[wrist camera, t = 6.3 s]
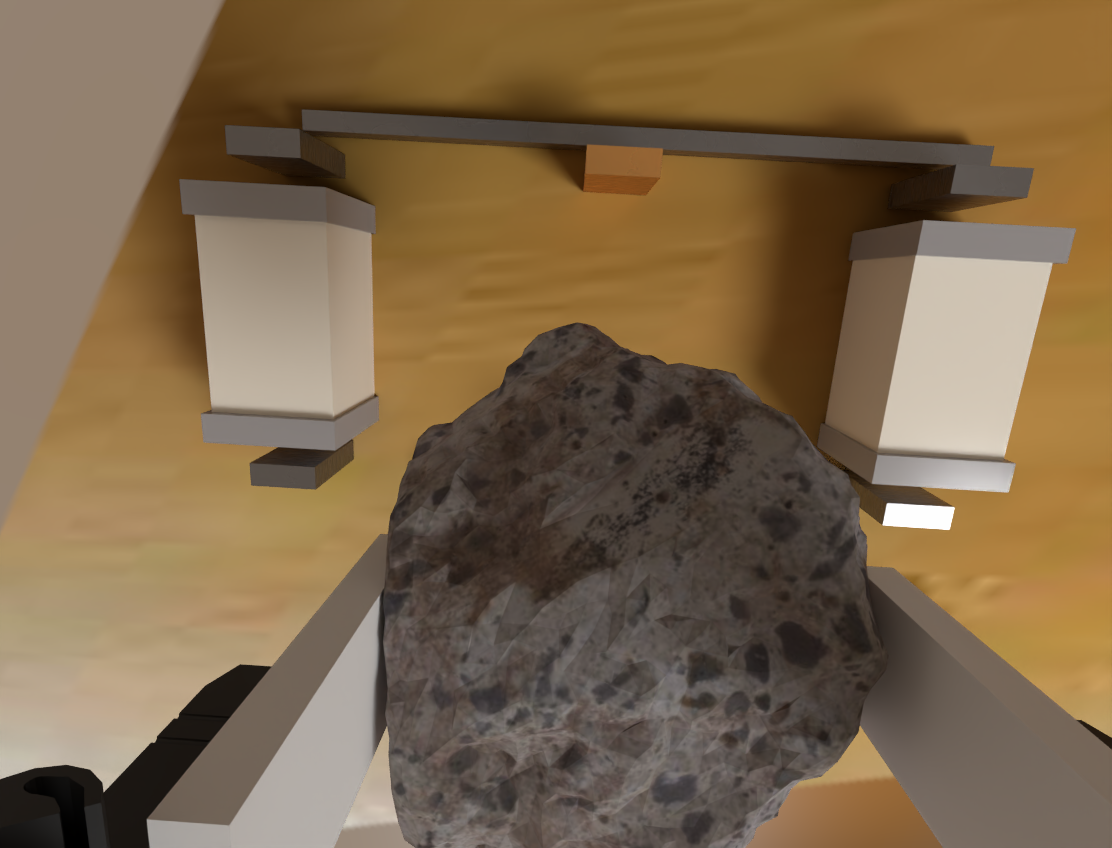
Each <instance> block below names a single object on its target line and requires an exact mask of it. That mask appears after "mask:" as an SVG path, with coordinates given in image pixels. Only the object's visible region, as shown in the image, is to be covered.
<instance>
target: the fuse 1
mask: <svg viewBox="0 0 1112 848" xmlns="http://www.w3.org/2000/svg"><path fill="white" fill-rule="evenodd" d="M179 182H180V193H181V204H182V214H186V215H192V216H195V225H196V236H197V248H198V259H199V270H200V282H201V293H202V305H203V316H204V327H205V339H206V350H207V361H208V373H209V384H210V396H211V407H212V410H210V411H207V412H204V413H201V420H202V430H203V441H204V442H206V443H222V444H238V445H254V446H270V447H286V448H302V449H318V450H334V451H335V450H337V449H338V448H340V447H341V446H343V445H344V444H345V443H347V442H348V441H350V440H351V439H353V438H354V437H355V436H357V435H358V434H360V433H361V432H363V431H364V430H365V429H367V428H368V427H370V426H371V425H373V424H374V423H375V422H377V421H378V420H379V401H378V396H374V351H373V299H372V248H371V234H376V231H375V206H373V205H370V204H368V203H365V202H363V201H360V200H357V199H355V198H352V197H350V196H347V195H345V194H342V193H339V192H337V191H334V190H332V189H329V188H327V187H313V186H295V185H277V184H259V183H241V182H222V181H204V180H186V179H179Z"/></svg>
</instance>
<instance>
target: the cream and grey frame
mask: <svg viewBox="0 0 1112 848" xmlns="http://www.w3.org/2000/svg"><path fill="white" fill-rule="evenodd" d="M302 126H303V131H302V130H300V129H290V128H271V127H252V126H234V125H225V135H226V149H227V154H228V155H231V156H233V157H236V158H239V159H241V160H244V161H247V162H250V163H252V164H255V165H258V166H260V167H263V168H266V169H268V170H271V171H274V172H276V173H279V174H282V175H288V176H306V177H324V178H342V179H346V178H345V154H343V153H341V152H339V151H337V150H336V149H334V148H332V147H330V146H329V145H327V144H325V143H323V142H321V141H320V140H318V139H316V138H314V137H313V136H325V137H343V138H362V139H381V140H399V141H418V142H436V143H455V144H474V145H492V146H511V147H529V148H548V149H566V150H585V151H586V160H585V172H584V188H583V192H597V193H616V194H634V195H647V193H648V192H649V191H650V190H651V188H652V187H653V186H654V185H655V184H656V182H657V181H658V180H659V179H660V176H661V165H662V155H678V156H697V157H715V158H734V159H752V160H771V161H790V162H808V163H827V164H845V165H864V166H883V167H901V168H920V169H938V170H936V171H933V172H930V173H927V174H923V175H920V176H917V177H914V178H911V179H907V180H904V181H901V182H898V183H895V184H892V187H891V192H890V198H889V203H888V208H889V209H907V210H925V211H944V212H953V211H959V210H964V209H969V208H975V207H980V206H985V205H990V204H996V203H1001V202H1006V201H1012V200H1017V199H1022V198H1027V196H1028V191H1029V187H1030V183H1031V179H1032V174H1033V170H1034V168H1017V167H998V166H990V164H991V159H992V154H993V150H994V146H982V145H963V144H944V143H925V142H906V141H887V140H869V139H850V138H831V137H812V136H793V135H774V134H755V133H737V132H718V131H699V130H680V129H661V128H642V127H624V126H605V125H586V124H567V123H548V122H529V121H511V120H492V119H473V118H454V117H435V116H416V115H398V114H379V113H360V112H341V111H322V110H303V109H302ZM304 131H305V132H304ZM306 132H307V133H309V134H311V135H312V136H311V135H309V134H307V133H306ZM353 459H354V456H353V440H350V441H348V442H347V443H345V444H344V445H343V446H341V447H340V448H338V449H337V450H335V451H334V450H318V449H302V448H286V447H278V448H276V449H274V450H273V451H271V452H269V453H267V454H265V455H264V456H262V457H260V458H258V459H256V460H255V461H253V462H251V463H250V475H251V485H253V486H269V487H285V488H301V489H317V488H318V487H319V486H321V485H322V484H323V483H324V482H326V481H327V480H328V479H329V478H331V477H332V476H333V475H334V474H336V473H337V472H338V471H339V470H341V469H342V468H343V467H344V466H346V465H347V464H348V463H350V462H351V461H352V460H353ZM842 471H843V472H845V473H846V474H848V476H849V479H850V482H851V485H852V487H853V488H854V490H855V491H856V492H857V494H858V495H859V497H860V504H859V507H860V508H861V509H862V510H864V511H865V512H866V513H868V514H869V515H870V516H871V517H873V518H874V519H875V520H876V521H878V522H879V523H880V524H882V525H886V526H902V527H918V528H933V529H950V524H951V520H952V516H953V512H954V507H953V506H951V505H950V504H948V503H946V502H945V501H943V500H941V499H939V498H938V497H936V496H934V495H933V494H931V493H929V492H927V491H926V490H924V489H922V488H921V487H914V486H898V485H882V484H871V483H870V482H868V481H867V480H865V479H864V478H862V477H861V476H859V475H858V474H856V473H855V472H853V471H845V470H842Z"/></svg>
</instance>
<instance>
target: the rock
mask: <svg viewBox="0 0 1112 848" xmlns="http://www.w3.org/2000/svg"><path fill="white" fill-rule="evenodd" d="M859 504H860V497H859V495H858V494H857V492H856V491H855V490H854V488H853V487H852V485H851V482H850V479H849V476H848V474H846V473H845V472H843V471H842V470H840V469H839V468H837V467H836V466H835V465H833V464H832V463H830V462H829V461H827V460H826V459H825V457H824V456H823V455H822V454H821V453H820V452H819V451H818V450H817V448H816V447H815V446H814V445H813V444H812V443H811V442H810V440H809V439H808V437H807V435H806V434H805V432H804V431H803V430H802V428H801V427H800V426H799V424H798V423H797V422H796V421H795V419H794V418H793V417H792V416H790V415H787V414H785V413H782V412H780V411H778V410H776V409H774V408H772V407H770V406H768V405H766V404H764V403H762V401H761V400H760V398H759V397H758V396H757V395H756V394H755V393H754V392H753V391H752V390H751V389H749V388H748V387H747V386H746V385H745V384H744V383H743V382H742V381H740V380H739V378H738V377H737V376H736V374H733V373H729V372H726V371H722V370H718V369H706V368H702V367H698V366H693V365H688V364H683V363H678V364H669V365H667V364H666V363H665V362H663V361H661V360H659V359H657V358H656V357H654V356H652V355H640V354H638V353H635V352H632V351H630V350H629V349H625V348H623V347H620V346H619V345H618V344H617V343H615V342H614V341H613V340H612V339H611V338H610V337H608V336H607V335H605V334H604V333H602V332H601V331H600V330H598V329H597V328H596V327H594V326H591V325H588V324H583V323H573V324H569V325H566V326H562V327H558V328H556V329H553V330H550V331H548V332H545V333H542V334H540V335H538V336H537V337H536V338H535V339H534V340H533V341H532V342H531V343H530V344H529V345H528V346H527V347H526V348H525V350H524V352H523V355H522V356H521V357H520V358H519V359H517V360H516V361H515V362H513V363H512V364H511V365H509V366H508V367H507V369H506V373H505V376H504V380H503V383H502V385H501V386H500V387H499V388H498V389H496V390H494V391H493V392H491V393H490V394H488V395H487V396H485V397H484V398H482V399H481V400H480V401H478V402H477V403H476V404H474V405H473V406H471V407H470V408H469V409H467V410H466V411H465V412H464V413H463V414H461V415H460V416H459V417H458V418H457V419H455V420H454V421H453V422H452V423H445V424H438V425H433V426H431V427H430V428H428V429H427V430H426V431H425V432H424V433H423V434H422V435H421V436H420V437H419V438H418V441H417V444H416V448H415V451H414V455H413V458H412V460H411V461H409V463H408V466H407V469H406V472H405V474H404V476H403V478H402V481H401V483H400V487H399V493H398V499H397V503H396V505H395V507H394V509H393V511H392V513H391V515H390V522H389V531H388V541H387V553H386V572H385V585H384V597H383V607H384V614H385V621H384V637H383V646H384V657H385V666H386V676H387V686H388V692H387V701H386V710H385V717H386V722H387V727H388V733H389V766H390V777H391V789H392V795H393V800H394V805H395V809H396V814H397V818H398V822H399V825H400V828H401V831H402V833H403V837H404V839H405V840H406V841H407V842H408V843H410V844H411V845H412V846H414V847H415V848H745V847H746V846H747V845H748V844H749V842H750V841H751V840H752V839H753V837H754V834H755V831H756V828H757V827H758V826H760V825H762V824H763V823H765V822H767V821H769V820H771V819H772V818H775V817H776V816H778V811H779V808H780V807H781V805H782V804H783V802H784V801H785V799H786V798H787V796H788V794H789V792H790V790H791V788H793V787H794V786H795V785H796V784H797V783H798V782H799V781H802V780H807V779H812V778H816V777H821V776H822V775H823V774H824V773H825V772H826V771H828V770H829V769H830V768H831V767H832V766H833V765H834V764H835V763H836V762H838V760H839V759H840V758H841V756H842V755H843V753H844V752H845V750H846V749H847V748H848V746H849V745H850V743H851V742H852V741H853V739H854V738H855V736H856V735H857V734H858V731H859V726H860V721H861V715H862V710H863V705H864V701H865V699H866V697H867V695H868V694H869V692H870V690H871V688H872V687H873V686H874V685H875V684H876V682H877V681H878V680H879V679H880V678H881V676H882V675H883V674H884V672H885V671H886V670H887V662H888V653H887V650H886V648H885V645H884V642H883V639H882V636H881V633H880V630H879V627H878V625H877V622H876V619H875V616H874V613H873V610H872V605H871V595H870V587H869V580H868V573H867V566H866V560H867V544H866V542H867V536H866V535H865V534H864V532H863V531H862V530H861V527H860V524H859V520H860V517H859V515H858V514H859Z"/></svg>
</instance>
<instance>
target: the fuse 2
mask: <svg viewBox="0 0 1112 848" xmlns="http://www.w3.org/2000/svg"><path fill="white" fill-rule="evenodd" d="M1075 230H1076V229H1075V228H1057V227H1039V226H1021V225H1002V224H984V223H966V222H948V221H930V220H922V221H916V222H911V223H905V224H899V225H894V226H888V227H883V228H877V229H872V230H866V231H861V232H855V233H853V236H852V242H851V248H850V254H849V260H848V261H853V263H852V269H851V275H850V280H849V286H848V292H847V298H846V304H845V310H844V315H843V321H842V327H841V333H840V339H839V345H838V351H837V356H836V362H835V368H834V374H833V380H832V386H831V391H830V397H829V403H828V409H827V415H826V421H825V423H821V425H820V431H819V437H818V443H817V447H818V448H819V449H821V450H822V451H824V452H825V453H827V454H828V455H830V456H831V457H833V458H834V459H836V460H837V461H839V462H840V463H842V464H843V465H844V466H846V467H847V468H849V469H850V470H852V471H853V472H855V473H856V474H858V475H859V476H861V477H862V478H864V479H865V480H867V481H868V482H870V483H871V484H882V485H898V486H914V487H930V488H946V489H962V490H978V491H994V492H1009V488H1010V484H1011V480H1012V476H1013V472H1014V468H1015V465H1016V464H1015V463H1013V462H1011V461H1008V460H1006V459H1004V455H1005V451H1006V447H1007V443H1008V439H1009V435H1010V431H1011V427H1012V423H1013V419H1014V415H1015V411H1016V407H1017V403H1018V399H1019V395H1020V391H1021V387H1022V384H1023V380H1024V376H1025V372H1026V368H1027V364H1028V360H1029V356H1030V352H1031V348H1032V344H1033V340H1034V336H1035V332H1036V328H1037V324H1038V320H1039V316H1040V312H1041V308H1042V304H1043V300H1044V296H1045V292H1046V288H1047V284H1048V280H1049V276H1050V272H1051V268H1052V264H1064V263H1067V262H1068V258H1069V254H1070V250H1071V246H1072V242H1073V238H1074V234H1075Z"/></svg>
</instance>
